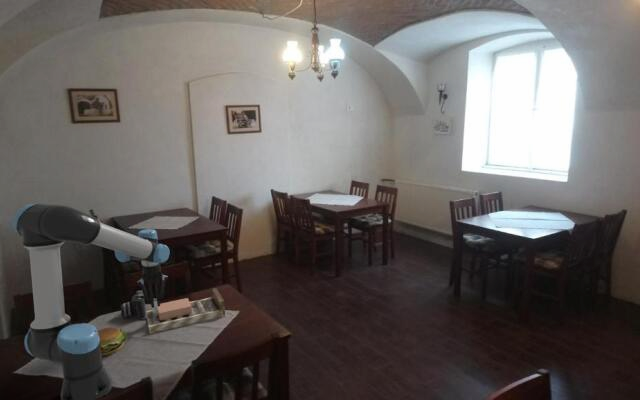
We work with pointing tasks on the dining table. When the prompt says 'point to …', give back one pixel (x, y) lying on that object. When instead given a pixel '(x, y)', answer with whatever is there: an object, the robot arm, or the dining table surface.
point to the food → (111, 340)
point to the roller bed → (183, 320)
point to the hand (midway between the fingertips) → (156, 313)
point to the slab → (174, 309)
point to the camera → (135, 306)
